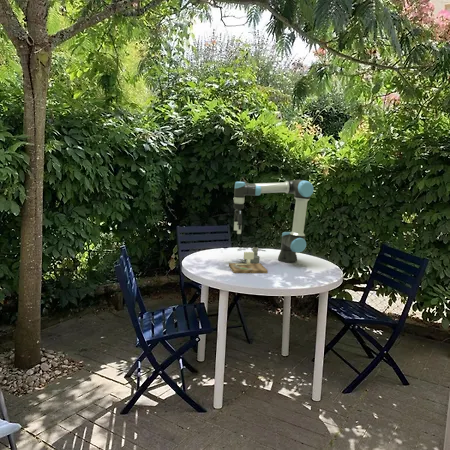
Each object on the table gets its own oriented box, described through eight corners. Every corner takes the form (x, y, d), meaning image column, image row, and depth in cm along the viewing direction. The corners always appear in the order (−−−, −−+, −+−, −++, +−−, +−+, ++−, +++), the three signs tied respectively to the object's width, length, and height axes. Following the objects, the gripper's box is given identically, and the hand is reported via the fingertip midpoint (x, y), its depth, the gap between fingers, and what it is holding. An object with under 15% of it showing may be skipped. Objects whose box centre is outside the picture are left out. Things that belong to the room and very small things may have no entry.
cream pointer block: (252, 265, 305) (253, 251, 303) (253, 266, 302) (254, 252, 300) (235, 265, 302) (235, 251, 301) (235, 266, 300) (236, 252, 298)
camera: (261, 248, 316) (243, 249, 311) (261, 263, 318) (243, 265, 313) (256, 246, 324) (239, 247, 319) (255, 261, 326) (238, 262, 320)
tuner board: (260, 266, 311) (260, 263, 311) (267, 273, 293) (267, 270, 293) (228, 265, 307) (228, 262, 307) (233, 273, 289) (234, 270, 288)
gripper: (230, 201, 313) (229, 228, 316) (236, 205, 289) (235, 235, 292) (240, 201, 314) (239, 229, 318) (247, 205, 290) (245, 235, 293)
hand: (237, 232), depth 305 cm, fingers open, 13 cm apart
